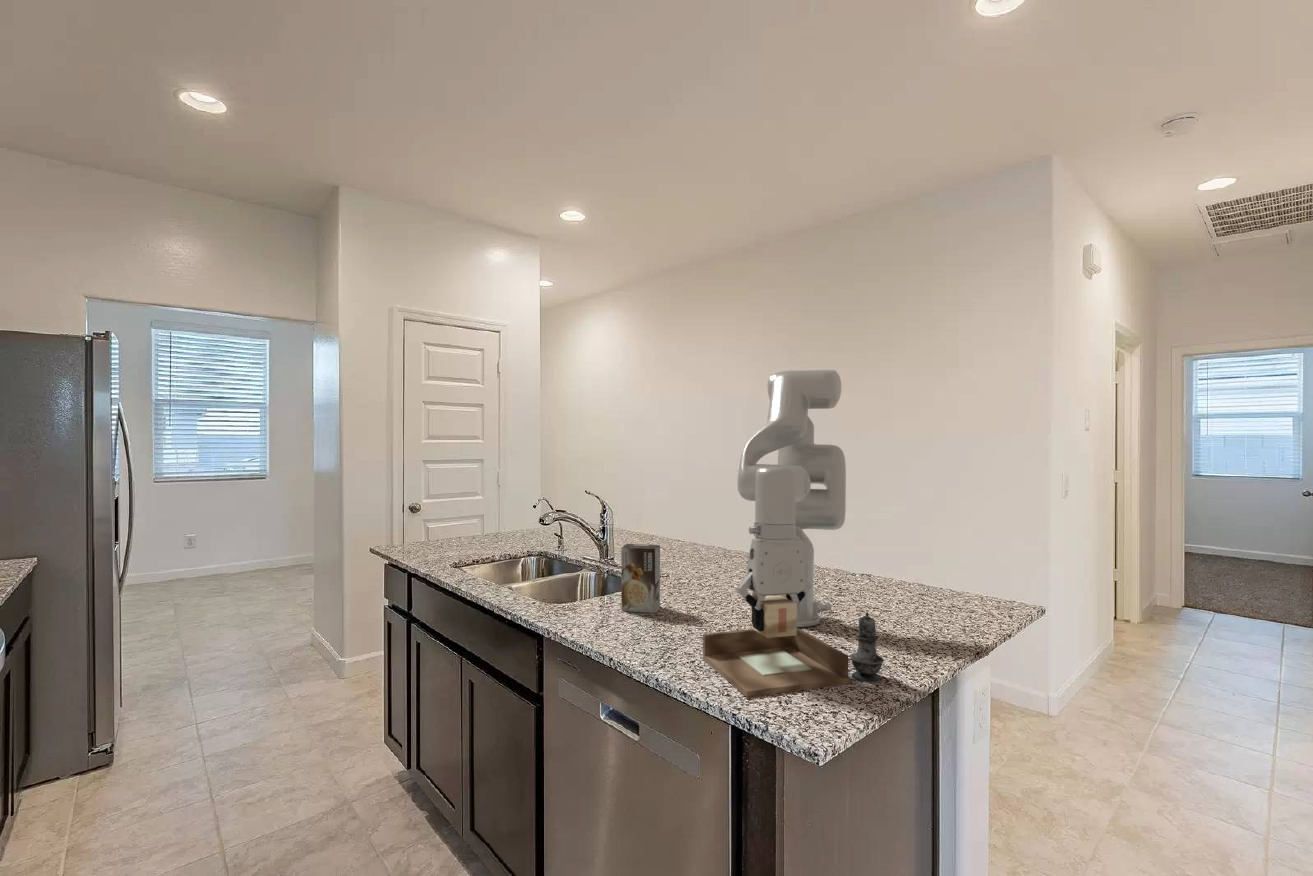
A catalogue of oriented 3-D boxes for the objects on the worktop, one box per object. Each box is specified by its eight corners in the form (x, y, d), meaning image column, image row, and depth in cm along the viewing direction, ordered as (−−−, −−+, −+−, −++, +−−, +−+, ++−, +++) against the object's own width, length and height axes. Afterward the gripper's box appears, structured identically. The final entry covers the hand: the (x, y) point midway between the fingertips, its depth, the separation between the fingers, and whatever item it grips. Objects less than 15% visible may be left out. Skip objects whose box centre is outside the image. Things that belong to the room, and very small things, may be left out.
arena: (792, 649, 130) (792, 625, 130) (848, 683, 112) (848, 655, 112) (702, 659, 123) (703, 634, 123) (746, 697, 105) (746, 667, 105)
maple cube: (796, 635, 117) (796, 603, 117) (767, 638, 115) (768, 605, 115) (780, 626, 122) (780, 595, 123) (752, 628, 121) (752, 597, 121)
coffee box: (661, 607, 162) (661, 544, 162) (655, 613, 156) (656, 548, 156) (626, 604, 164) (627, 543, 164) (620, 611, 158) (620, 547, 158)
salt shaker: (844, 672, 117) (845, 607, 117) (875, 671, 118) (875, 607, 118) (857, 684, 112) (858, 616, 112) (889, 683, 112) (890, 616, 112)
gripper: (742, 536, 113) (741, 637, 112) (825, 533, 118) (825, 629, 118) (725, 531, 120) (724, 626, 119) (804, 528, 125) (803, 619, 125)
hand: (774, 627), depth 119 cm, fingers closed on maple cube, 6 cm apart
